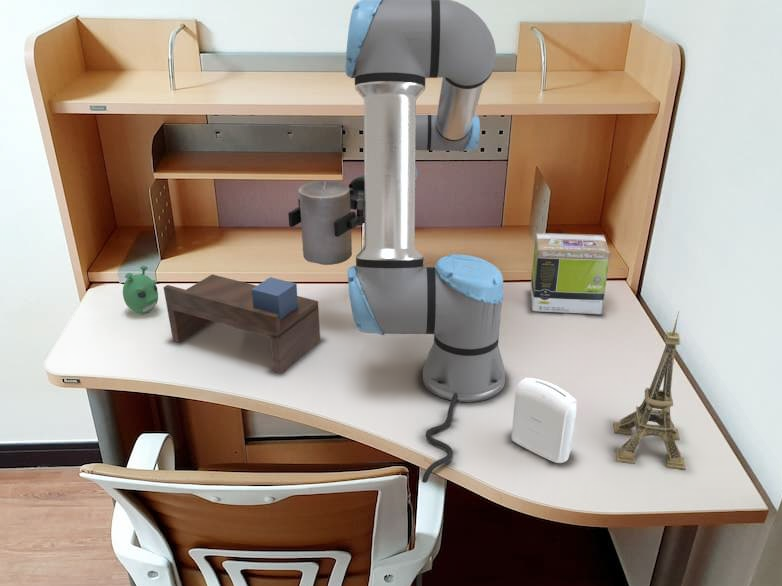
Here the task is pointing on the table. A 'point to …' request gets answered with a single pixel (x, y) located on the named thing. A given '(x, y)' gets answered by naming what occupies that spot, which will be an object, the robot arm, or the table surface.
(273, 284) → the slate box
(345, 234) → the pillar candle
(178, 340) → the shelf
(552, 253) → the tea box
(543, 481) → the table surface
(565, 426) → the photo printer
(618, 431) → the eiffel tower
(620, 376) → the table surface
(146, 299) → the alien toy
